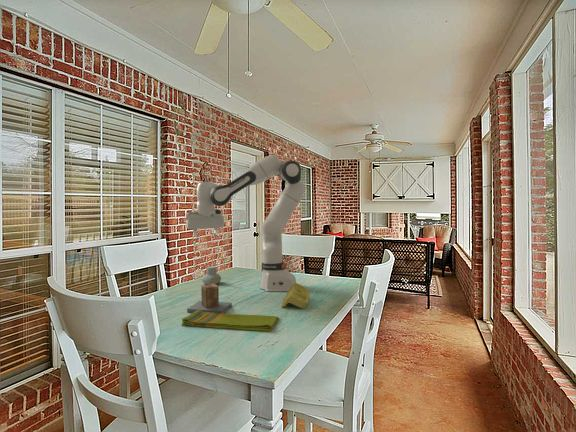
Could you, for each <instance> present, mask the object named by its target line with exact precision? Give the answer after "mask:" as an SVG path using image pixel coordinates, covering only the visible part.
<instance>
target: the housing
mask: <svg viewBox="0 0 576 432" xmlns="http://www.w3.org/2000/svg"><path fill="white" fill-rule="evenodd" d="M200 287H201V292H200V293H201V301H202V306H203V307H205V308H212V307H217V306H219V302H220V299H219V298H220V297H219V295H220V293H219V291H220V290H219V285H218V284H216V285H215V284H201V285H200Z"/></svg>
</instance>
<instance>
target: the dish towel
mask: <svg viewBox="0 0 576 432" xmlns="http://www.w3.org/2000/svg"><path fill="white" fill-rule="evenodd" d="M279 319H280V318H279V316H275V315H263V314H262V315H261V314H242V313H240V314H238V313H237V314H236V313H226V312H224V313H214V312H205V311H201V310H197V311H195V312H194V313H191V314H189V315H187V316H185V317H183V318H182V319H181V321H182V323H181V326H182V327H193V328H205V329H206V328H207V329H208V328H209V329H219V330H234V331H248V332H262V333H264V332H266V333H271V331H272V330H273V328H274V327H275V325H276V323H277V322H278V320H279Z"/></svg>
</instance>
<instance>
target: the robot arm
mask: <svg viewBox="0 0 576 432" xmlns="http://www.w3.org/2000/svg"><path fill="white" fill-rule="evenodd" d="M276 175H277V176H278V177H279V179H280V180H282V181H285V183H286V184H285V187H284V189H283V190H282V192H281V193H280V195H279V197H278V198H277V200H276V202H275V203H274V205H273V207H272V208H271V210H270V212H269V214H268V215H267V217H266V219H264V221H263V222H262V227H261V231H262V234H261V235H262V239H261V240H262V241H261V242H262V244H261V245H262V248H261V249H262V252H261V254H262V261H261V281H260V285H259V289H262V290H264V291H266V292H288V291H289V289H290V288H291V286H292V285H293V283H297V280H296V279H297V278H296V276H295V274H293V273H291V272H290V271H289V270H288V269H286V268H287V267H286V266H287V263H286V262H283V239H282V236H283V235H282V233H283V232H284V230H285V228H286V226H287V224H288V222H289V221H290V219H291V217H292V215H293V213H294V212H295V210H296V209H297V207H298V205H299V203H300V202H301V200H302V198H303V196H304V194H305V190H306V185H305V183H304V182H303V181H302V167H301V165H300V164H299V162H298V161H295V160H292V159H291V160H287V161H281V160H280V158H279V157H278V156H277V155H275V154H270V155H268V156H266V157H265V156H264V157H263V158H261V159H259V160H258V161H256V162H254V163H253V164H252V165H250V166H249V167H248V168H247V169H246V170H245V171H244V172H243V173H242V174H241V175H239V176H238V177H237V178H235V179H233V180H232V181H230V182H228V183H227V184H224V185H218V184H217V183H215V182H213V181H212V180H205V181H201V182H198V184H197V186H196V187H197V188H196V200H197V203H196V211H195V210H194V211H188V212H187V213H186V215H185V218H186V223H185V228H187V230H192V232H193V233H194V235H195V238H199V237H200V233H198V232H197V231H198V230H199V229H200V230H201V229H213V230H214V231H213V232H212V234H211V236H212V237H217V232H218V230H219V229H221V228H222V229H223V228H224V226H225V220H224V215H223V210H222V209H218V208H215V206H218V207H221V206H225V205H227V204H228V203H229V202H230V201H231V198H232V197H233V196H234V195H235V194H237V193H239V192H240V191H242V190H243V189H245V188H246V187H250V186H254V185H259V184H262V183H264V182H265V181H267V180H269V179H270V178H271V177H273V176H276Z"/></svg>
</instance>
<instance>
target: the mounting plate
mask: <svg viewBox="0 0 576 432" xmlns="http://www.w3.org/2000/svg"><path fill="white" fill-rule="evenodd" d="M232 304H233V302H228V301H219V306H217V307H212V308H205V307H203V306H202V300H198V301H197V302H196V303H194V304H192V305H190V306H189V307H188V308H187V309H186V313H189V314H190V313H191V314H192V313H194V312H195V311H197V310H201V311H205V312H214V313H226V312H227V311H228V310H229V309H230V308H231V307H232Z"/></svg>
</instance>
